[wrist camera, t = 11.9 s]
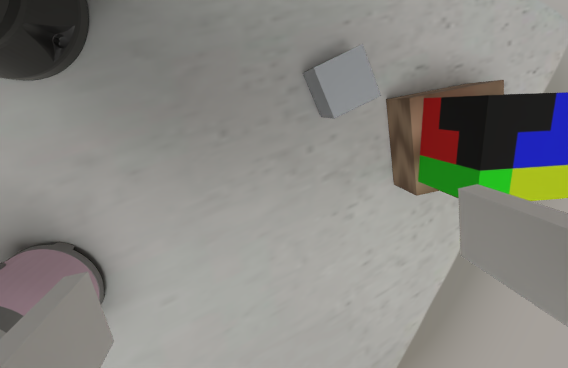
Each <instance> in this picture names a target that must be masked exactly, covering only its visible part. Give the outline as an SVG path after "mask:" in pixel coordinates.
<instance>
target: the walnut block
mask: <svg viewBox="0 0 568 368" xmlns="http://www.w3.org/2000/svg"><path fill="white" fill-rule="evenodd" d="M481 95H504V80H498V81H488V82H478V83H469V84H463V85H458V86H453V87H448V88H442V89H437V90H432V91H427V92H421V93H416V94H411V95H406V96H400V97H395V98H390V99H386V102H387V113H388V124H389V135H390V146H391V157H392V168H393V178H394V185H396V186H398V187H400V188H402V189H404V190H406V191H408V192H411V193H413V194H415V195H421V194H426V193H430V192H435V191H439V190H437V189H435V188H432V187H430V186H427V185H425V184H423V183H420V182H418V175H419V160H420V146H421V131H422V116H423V102H424V98H439V97H460V96H481Z"/></svg>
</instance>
